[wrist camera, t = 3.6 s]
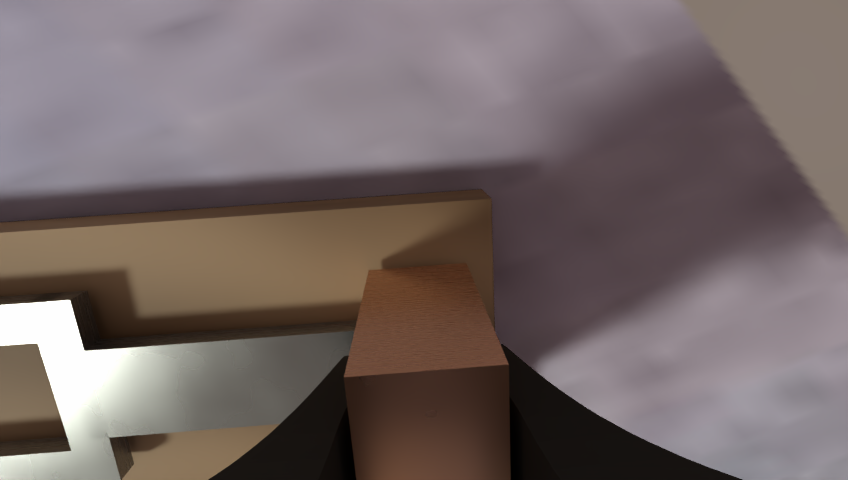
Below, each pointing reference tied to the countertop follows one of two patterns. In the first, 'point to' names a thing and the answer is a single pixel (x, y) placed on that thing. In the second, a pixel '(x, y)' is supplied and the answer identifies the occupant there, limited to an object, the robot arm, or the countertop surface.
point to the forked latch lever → (279, 381)
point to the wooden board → (221, 288)
